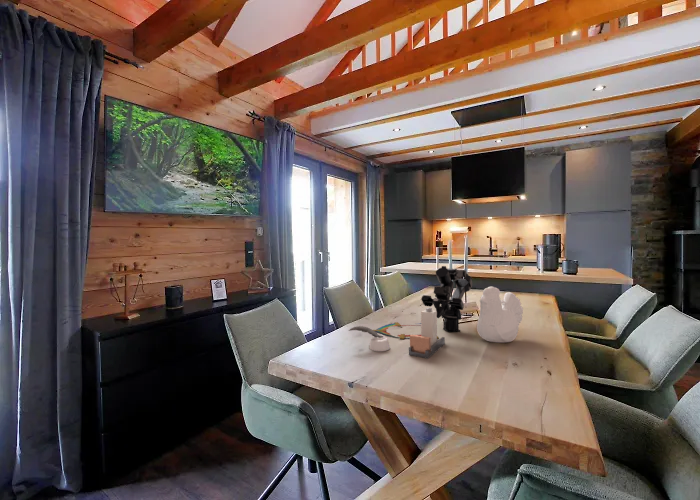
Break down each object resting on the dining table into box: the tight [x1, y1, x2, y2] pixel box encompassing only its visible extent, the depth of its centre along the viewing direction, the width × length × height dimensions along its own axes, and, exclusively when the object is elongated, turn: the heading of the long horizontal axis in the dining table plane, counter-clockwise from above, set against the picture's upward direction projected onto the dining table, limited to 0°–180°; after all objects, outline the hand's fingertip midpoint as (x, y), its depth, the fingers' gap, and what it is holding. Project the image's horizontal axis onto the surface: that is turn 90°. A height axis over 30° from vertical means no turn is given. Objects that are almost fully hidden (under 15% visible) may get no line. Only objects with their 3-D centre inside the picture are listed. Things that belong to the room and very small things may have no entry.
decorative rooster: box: [476, 286, 524, 343], centre depth 146 cm, size 25×16×25 cm, turn 103°
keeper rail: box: [408, 334, 446, 359], centre depth 138 cm, size 20×8×8 cm, turn 145°
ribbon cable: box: [372, 321, 440, 340], centre depth 166 cm, size 29×1×30 cm
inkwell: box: [348, 325, 391, 352], centre depth 140 cm, size 9×18×10 cm, turn 99°
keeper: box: [420, 307, 438, 346], centre depth 139 cm, size 5×5×15 cm
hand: (437, 317), depth 148 cm, fingers closed
